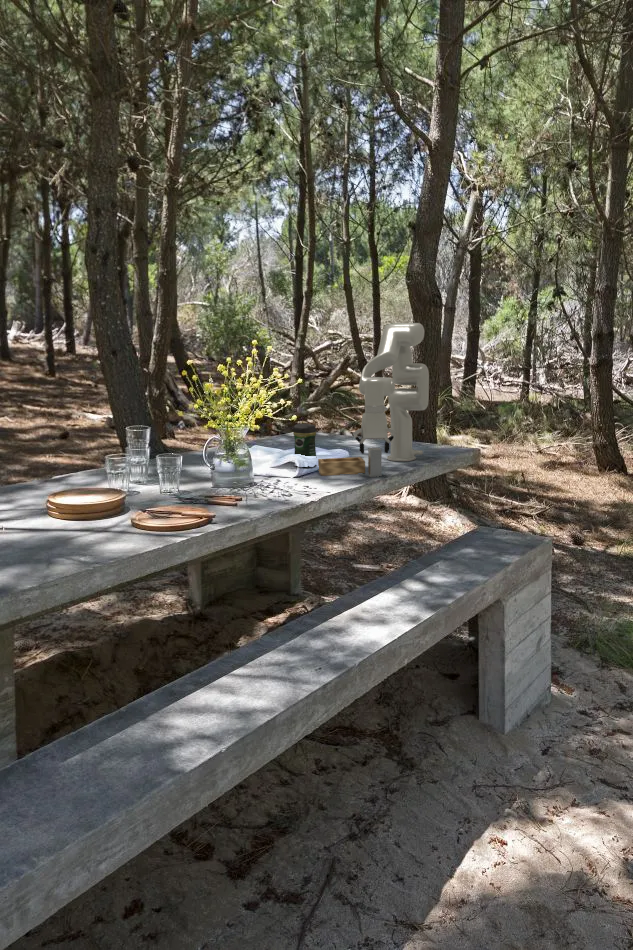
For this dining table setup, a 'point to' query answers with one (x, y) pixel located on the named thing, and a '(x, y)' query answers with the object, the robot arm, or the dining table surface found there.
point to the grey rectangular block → (374, 462)
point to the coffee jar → (305, 439)
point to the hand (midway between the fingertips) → (374, 452)
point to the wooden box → (341, 466)
